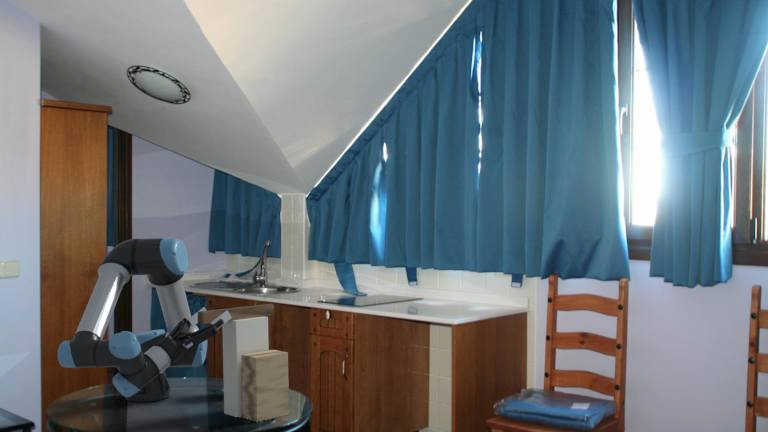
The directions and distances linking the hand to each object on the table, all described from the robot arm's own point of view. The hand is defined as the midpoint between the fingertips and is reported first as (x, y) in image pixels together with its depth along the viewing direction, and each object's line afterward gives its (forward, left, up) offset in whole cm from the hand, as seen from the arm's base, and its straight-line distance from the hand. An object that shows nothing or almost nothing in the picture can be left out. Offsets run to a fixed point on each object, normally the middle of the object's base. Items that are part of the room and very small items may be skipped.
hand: (217, 312), depth 227 cm
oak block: (+9, +11, -33) cm, 36 cm away
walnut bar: (0, +7, -3) cm, 8 cm away
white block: (0, +10, -33) cm, 34 cm away
